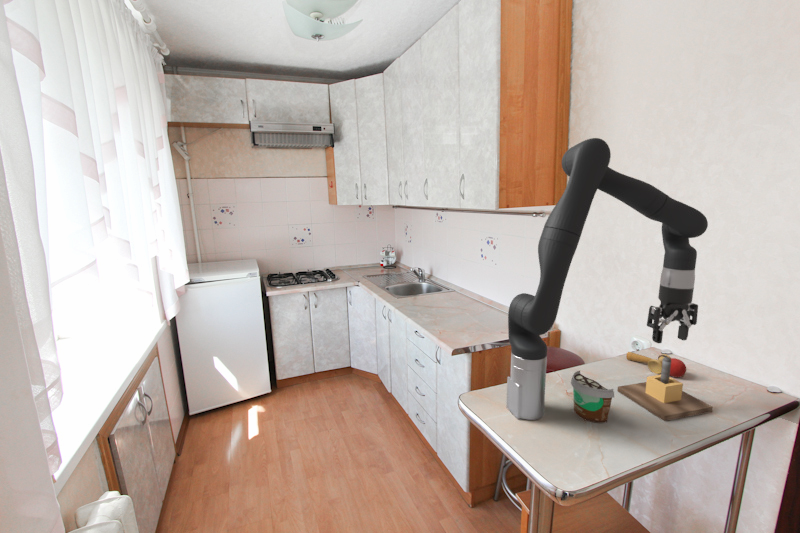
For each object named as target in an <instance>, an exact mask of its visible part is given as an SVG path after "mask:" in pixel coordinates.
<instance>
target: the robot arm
mask: <svg viewBox="0 0 800 533" xmlns="http://www.w3.org/2000/svg"><path fill="white" fill-rule="evenodd" d="M611 155H612V153H611V149H610V146H609V144H608V143H607V141H605V140H603V139H602V138H600V137H599V138H598V137H593V138H588V139H585V140H583V141H580V142H579V143H577V144H575V145H574V146H571V147H570V148H569V149H567V150H566V151H565V153H564V154H563V156H562V158H561V168H562V171H563V172H564V174H566V176H568V177H569V178H568V182H567V185H566V187H565V189H564V192H563V194H562V195H561V197H560V198H559V200H558V201H557V202H556V204H555V206H553V209H552V211H551V212H550V213H549V215H548V217H547V219H546V221H545V223H544V225H543V229H542V231H541V235H540V238H539V241H538V246H537V255H538V256H537V257H538V263H539V264H538V265H539V270H540V274H539V275H540V277H539V282H538V283H539V284H538V287H537V289H536V292H535V295H533V294H530V293H525V292H524V293H519V294H517V295H515V296H514V297H513V299H512V300H511V302H510V303H509V304H510V305H509V307H508V313H507V325H508V326H507V327H508V328H507V329H508V330H507V331H508V341H509V344H510V348H511V349H510V350H511V352H510V353H511V354H510V375H509V376H507V377H506V380H507V383H506V409H508V411H509V412H510V413H511V414H512V415H513V416H514V417H515V418H516V419H517V420H519V419H523V420H528V421H529V420H530V421H531V420H539V419H541V418H543V417H544V414H545V403H546V402H545V399H546V398H545V397H546V378H547V364H548V363H547V362H548V359H547V358H548V346H547V344H546V342H545V341H544V340H543V338H542V337H541V335H545V334H546V333H549V331H550V330H551V329H552V328H553V325H554V324H555V321H556V319H557V316H558V312H559V309H560V303H561V298H562V295H563V291H564V287H565V283H566V280H567V277H568V273H569V271H570V268H571V263H572V262H573V258H574V256H575V254H576V251H577V248H578V245H579V242H580V240H581V237H582V233H583V230H584V226H585V224H586V221H587V218H588V215H589V212H590V209H591V206H592V203H593V200H594V198H595V195H596V193H597V191H598V190H599V191H600V192H603V193H605V194H607V195H609V196H611V197H613V198H615V199H616V200H618V201H621V202H622V203H623V204H625V205H627V206H628V207H630V208H631V209H633V210H635V212H638V213H639V214H641V215H642V216H644V217H646V218H647V219H650V220H652V221H654V222H660V223H661V237H662V244H663V247H664V255H663V265H662V266H663V267H662V269H661V272H660V280H659V288H658V296H657V298H658V299H659V301H660V304H659V306H654V305H649V309H648V314H647V321H646V326H647V327H648V328H652V336H651V337H652V338H651V339H652V341H653V343H656V344H662V342H663V336H664V335H663V334H664V331H663V330H664V328H665V327H666V326H668V325H670V323H672V322H675V321H677V322H678V324H679V325H678V332H677V339H679V340H681V341H687V340H688V337H689V331H690V330H689V329H690V328H691V327H692V326H693V325H694V326H695V325H697V323H698V311H699V305H698V304H696V303H693V298H694V297H693V296H694V288H695V280H696V264H697V257H698V256H697V255H698V252H697V250H696V248H695V247H693V246H692V245H691V244H690V239H693V238H698V237H701V236H702V235H703V234H705V232H706V231H707V229H708V225H709V222H708V218H707V217H706V215H705V214H703V212H702V211H699V210H698V209H696V208H695V207H693V206H690V205H688V204H685V203H683V202H682V201H679V200H676V199H674V198H672V197H671V196H669V195H668V194H666V193H665V192H663V191H661V190H660V189H659V188H657V187H656V186H654V185H652V184H650V183H648V182H646V181H643V180H640V179H639V178H636V177H635V178H634V177H632V176H629V175H626V174H624V173H621V172H619V171H617V170H614V169H612V168H610V167H609V165H610V162H611ZM659 324H660V325H659Z"/></svg>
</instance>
